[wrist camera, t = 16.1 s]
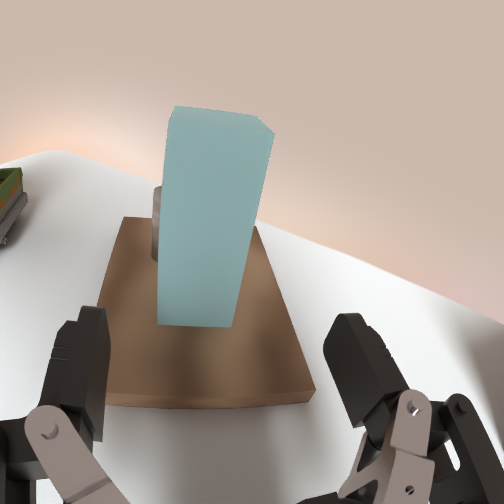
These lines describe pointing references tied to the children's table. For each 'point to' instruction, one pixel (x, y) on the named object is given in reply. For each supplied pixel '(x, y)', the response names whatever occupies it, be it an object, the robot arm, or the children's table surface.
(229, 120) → the teal block
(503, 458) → the children's table surface
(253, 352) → the board
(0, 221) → the toy truck
